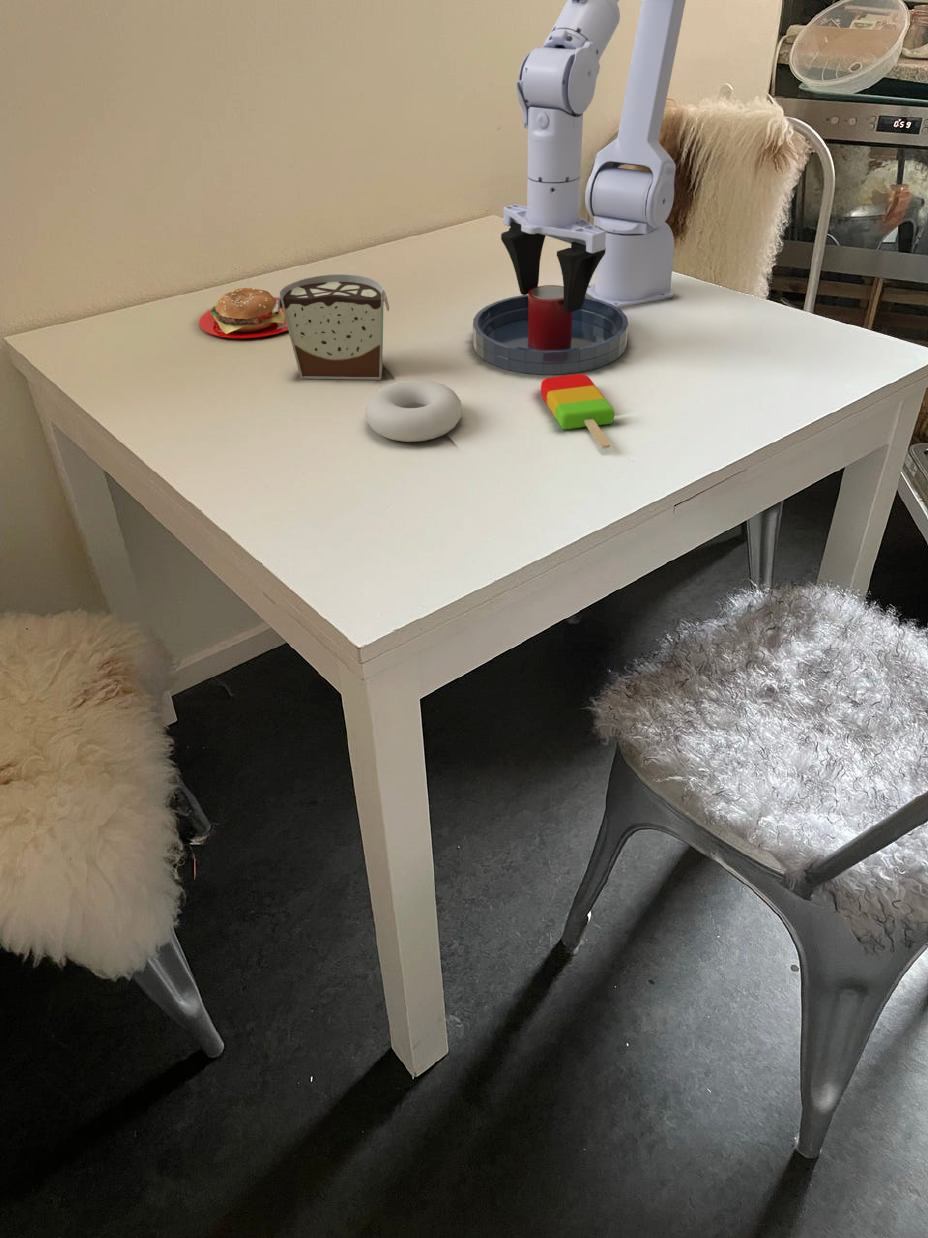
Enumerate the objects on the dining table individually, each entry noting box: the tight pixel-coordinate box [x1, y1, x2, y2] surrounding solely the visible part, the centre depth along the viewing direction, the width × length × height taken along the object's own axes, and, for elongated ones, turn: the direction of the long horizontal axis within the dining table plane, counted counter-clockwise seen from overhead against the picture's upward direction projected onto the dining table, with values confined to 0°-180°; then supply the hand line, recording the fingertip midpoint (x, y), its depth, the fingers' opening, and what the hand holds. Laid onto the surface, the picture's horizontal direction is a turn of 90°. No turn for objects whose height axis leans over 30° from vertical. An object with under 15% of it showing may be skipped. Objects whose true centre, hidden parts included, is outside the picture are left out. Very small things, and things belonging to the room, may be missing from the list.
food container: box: [277, 273, 390, 381], centre depth 109 cm, size 12×6×10 cm, turn 84°
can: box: [527, 284, 573, 350], centre depth 113 cm, size 5×5×6 cm
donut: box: [365, 379, 463, 443], centre depth 99 cm, size 10×4×10 cm
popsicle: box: [540, 373, 615, 449], centre depth 99 cm, size 6×15×2 cm, turn 12°
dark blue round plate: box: [472, 294, 629, 376], centre depth 114 cm, size 18×18×3 cm
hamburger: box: [198, 286, 289, 339], centre depth 123 cm, size 14×14×6 cm
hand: (550, 300), depth 112 cm, fingers open, 7 cm apart
